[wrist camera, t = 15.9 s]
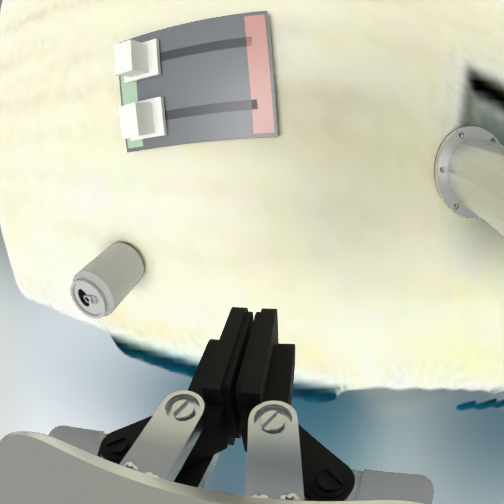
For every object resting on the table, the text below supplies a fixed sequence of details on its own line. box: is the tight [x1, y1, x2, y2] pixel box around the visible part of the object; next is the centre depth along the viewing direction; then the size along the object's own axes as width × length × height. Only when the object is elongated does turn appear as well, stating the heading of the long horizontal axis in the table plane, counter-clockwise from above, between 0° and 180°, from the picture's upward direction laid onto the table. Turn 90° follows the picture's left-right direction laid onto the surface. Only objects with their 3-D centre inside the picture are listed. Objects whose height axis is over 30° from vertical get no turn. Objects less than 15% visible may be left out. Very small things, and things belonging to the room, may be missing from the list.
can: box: [71, 243, 144, 318], centre depth 42 cm, size 8×8×12 cm
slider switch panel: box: [118, 11, 279, 152], centre depth 33 cm, size 20×16×2 cm
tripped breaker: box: [114, 39, 161, 83], centre depth 29 cm, size 5×5×5 cm
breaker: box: [118, 97, 167, 141], centre depth 32 cm, size 5×5×5 cm
